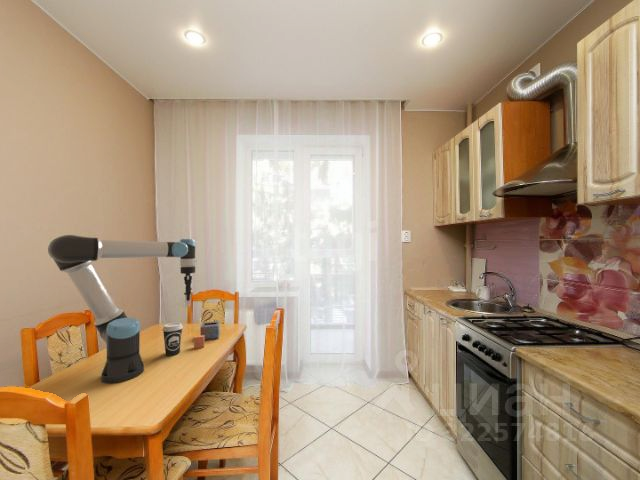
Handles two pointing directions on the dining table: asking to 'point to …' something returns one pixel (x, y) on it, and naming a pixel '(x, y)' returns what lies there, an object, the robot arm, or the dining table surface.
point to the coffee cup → (172, 338)
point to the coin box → (210, 330)
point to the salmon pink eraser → (199, 342)
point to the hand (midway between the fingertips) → (188, 303)
